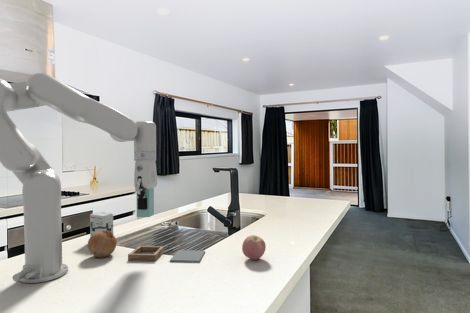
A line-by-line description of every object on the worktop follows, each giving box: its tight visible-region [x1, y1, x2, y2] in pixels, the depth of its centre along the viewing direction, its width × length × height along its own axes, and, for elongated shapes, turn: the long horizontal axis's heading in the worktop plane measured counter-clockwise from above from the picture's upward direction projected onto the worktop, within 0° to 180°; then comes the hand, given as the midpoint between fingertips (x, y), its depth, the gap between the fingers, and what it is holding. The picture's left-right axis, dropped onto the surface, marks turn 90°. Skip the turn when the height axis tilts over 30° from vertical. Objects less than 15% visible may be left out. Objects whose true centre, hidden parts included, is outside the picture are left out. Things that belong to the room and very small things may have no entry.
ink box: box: [89, 211, 114, 238], centre depth 124 cm, size 9×5×12 cm, turn 62°
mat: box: [169, 249, 206, 263], centre depth 106 cm, size 10×10×1 cm
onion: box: [87, 230, 117, 259], centre depth 108 cm, size 10×9×10 cm
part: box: [136, 187, 155, 218], centre depth 107 cm, size 4×4×10 cm
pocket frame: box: [127, 245, 165, 262], centre depth 107 cm, size 10×10×2 cm
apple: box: [241, 234, 267, 261], centre depth 103 cm, size 8×8×8 cm
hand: (145, 207), depth 107 cm, fingers closed on part, 4 cm apart
